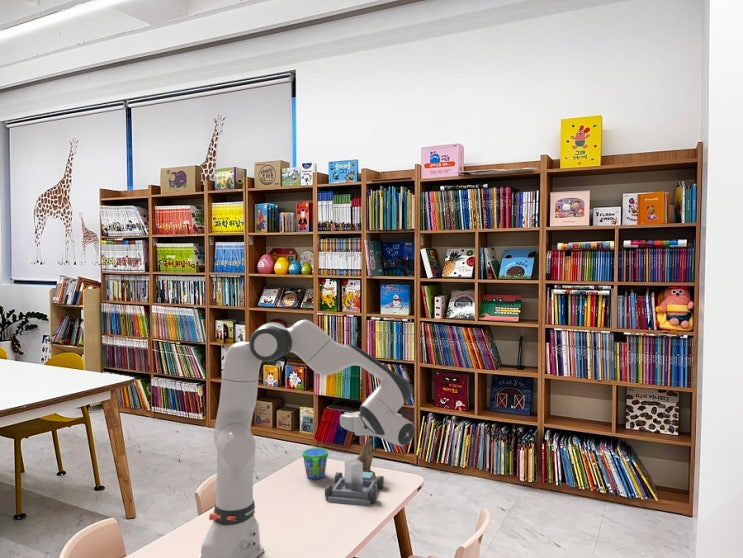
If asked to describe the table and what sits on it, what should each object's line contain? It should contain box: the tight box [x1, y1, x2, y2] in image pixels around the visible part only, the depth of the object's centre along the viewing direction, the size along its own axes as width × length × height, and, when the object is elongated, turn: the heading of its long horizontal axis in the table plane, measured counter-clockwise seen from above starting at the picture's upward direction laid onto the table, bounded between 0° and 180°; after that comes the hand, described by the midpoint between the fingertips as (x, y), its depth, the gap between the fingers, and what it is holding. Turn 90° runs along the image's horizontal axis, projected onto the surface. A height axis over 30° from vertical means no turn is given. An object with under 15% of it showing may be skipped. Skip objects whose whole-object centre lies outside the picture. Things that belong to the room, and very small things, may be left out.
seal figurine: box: [356, 436, 376, 478], centre depth 228 cm, size 12×6×18 cm, turn 52°
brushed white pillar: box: [344, 458, 363, 492], centre depth 209 cm, size 5×5×11 cm
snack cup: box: [302, 447, 329, 480], centre depth 227 cm, size 16×10×10 cm
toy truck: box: [324, 471, 385, 506], centre depth 211 cm, size 20×19×4 cm
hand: (357, 412), depth 192 cm, fingers open, 8 cm apart
